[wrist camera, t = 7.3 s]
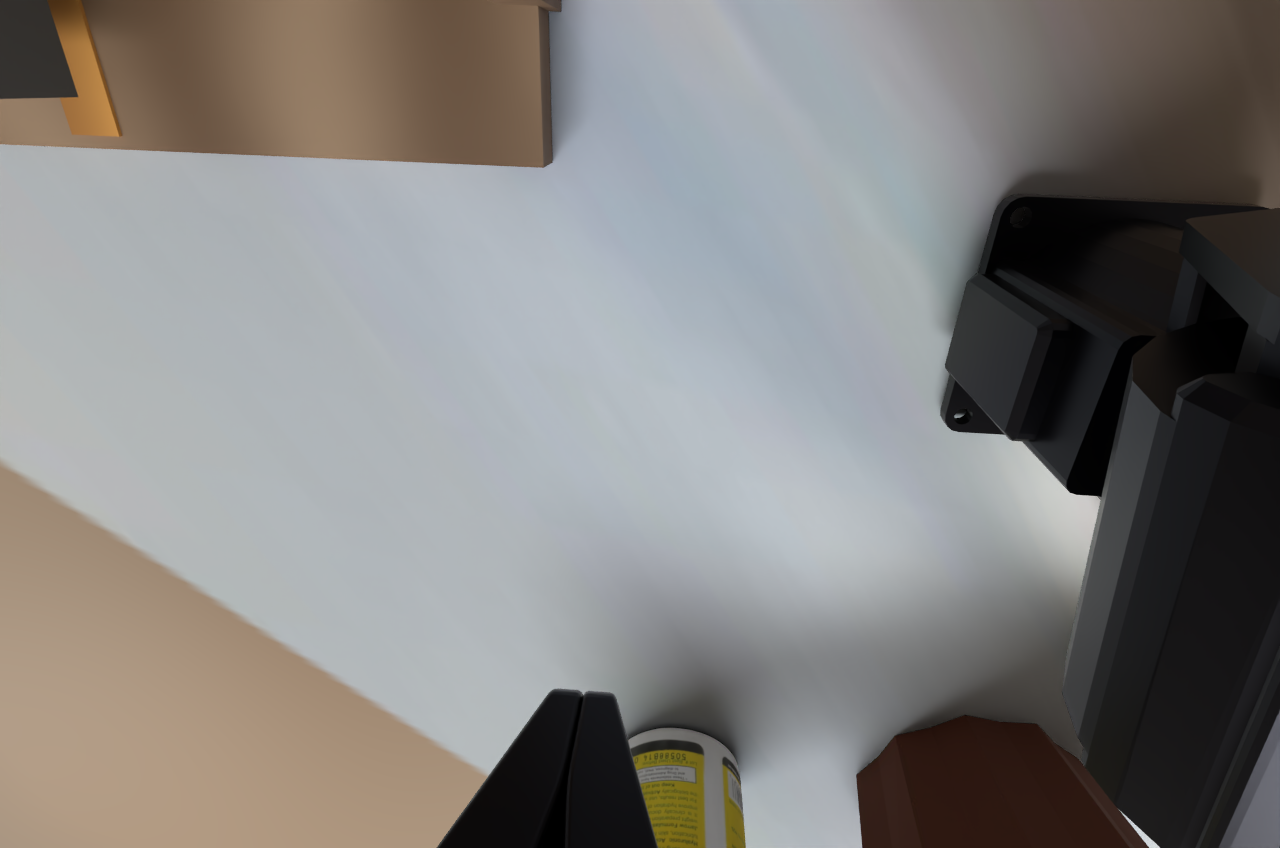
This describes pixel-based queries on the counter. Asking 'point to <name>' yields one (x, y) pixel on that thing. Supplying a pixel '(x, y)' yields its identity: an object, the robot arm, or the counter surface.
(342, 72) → the pipe stand
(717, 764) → the supplement bottle
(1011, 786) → the muffin
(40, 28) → the grey square collar
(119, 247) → the counter surface
